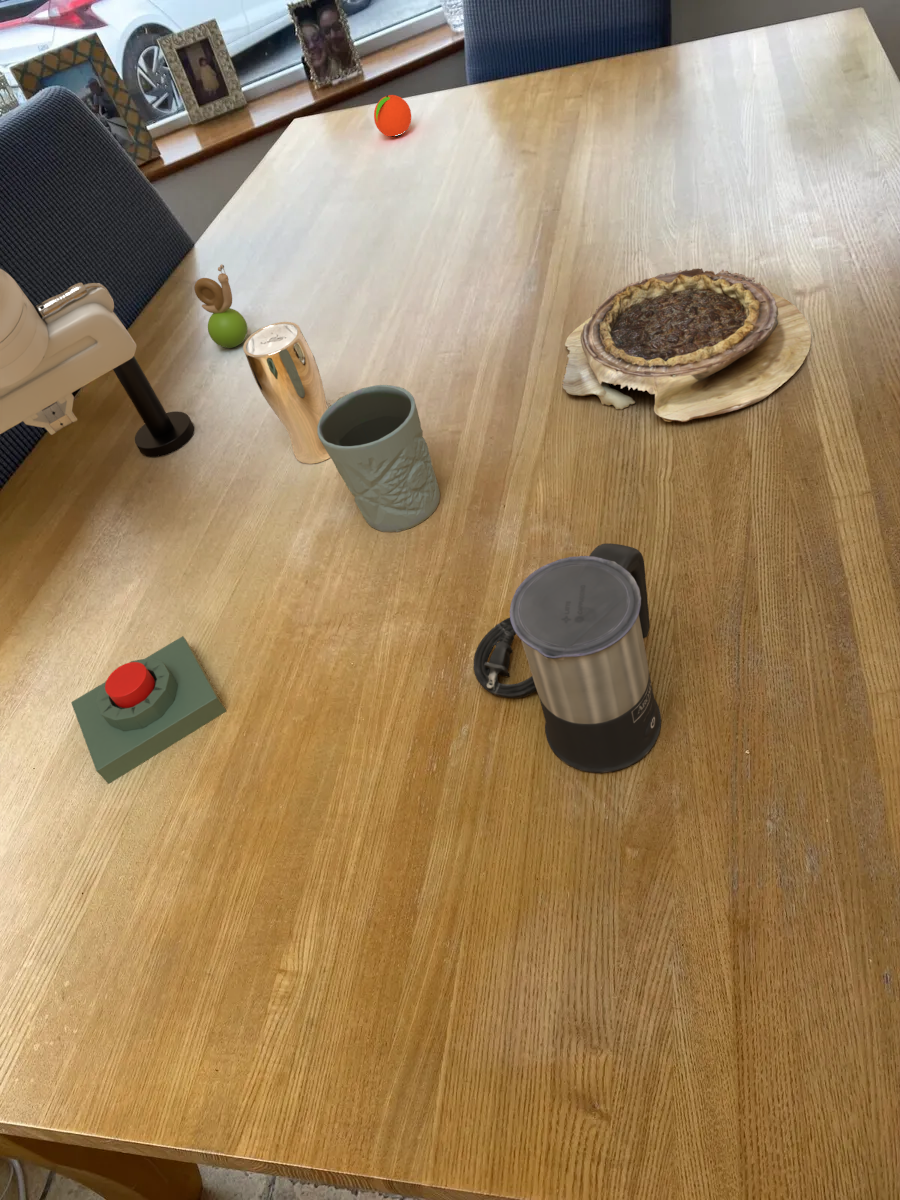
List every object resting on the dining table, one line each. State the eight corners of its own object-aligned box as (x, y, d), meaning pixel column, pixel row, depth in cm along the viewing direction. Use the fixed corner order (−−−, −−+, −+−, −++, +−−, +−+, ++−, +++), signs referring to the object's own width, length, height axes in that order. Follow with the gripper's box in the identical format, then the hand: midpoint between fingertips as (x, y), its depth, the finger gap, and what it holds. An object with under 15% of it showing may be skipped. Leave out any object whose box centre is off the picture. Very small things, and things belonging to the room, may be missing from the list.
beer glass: (316, 424, 115) (270, 317, 105) (358, 435, 112) (314, 324, 101) (280, 459, 112) (228, 352, 102) (321, 471, 108) (272, 361, 98)
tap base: (149, 465, 119) (92, 372, 109) (133, 440, 124) (77, 349, 114) (202, 436, 120) (151, 341, 110) (184, 413, 125) (133, 320, 116)
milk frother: (660, 777, 71) (639, 652, 60) (458, 774, 75) (407, 658, 65) (664, 633, 80) (646, 503, 70) (484, 638, 85) (443, 517, 74)
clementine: (399, 146, 172) (387, 106, 167) (369, 146, 175) (357, 107, 170) (422, 126, 176) (412, 86, 171) (393, 127, 179) (382, 88, 174)
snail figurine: (248, 354, 132) (212, 276, 124) (211, 356, 134) (173, 279, 126) (265, 332, 135) (231, 255, 127) (228, 334, 138) (192, 258, 129)
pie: (576, 299, 120) (570, 263, 117) (805, 271, 111) (805, 232, 108) (547, 438, 102) (539, 400, 99) (817, 417, 94) (818, 375, 90)
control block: (108, 784, 84) (85, 759, 81) (82, 715, 91) (60, 690, 88) (227, 711, 86) (208, 685, 84) (192, 649, 93) (174, 623, 90)
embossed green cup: (452, 521, 97) (421, 427, 88) (359, 549, 97) (319, 459, 89) (437, 463, 104) (407, 372, 95) (350, 490, 105) (313, 402, 96)
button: (120, 715, 84) (110, 704, 83) (109, 689, 87) (99, 677, 86) (160, 691, 85) (151, 680, 84) (148, 666, 88) (139, 654, 87)
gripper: (81, 250, 82) (140, 347, 95) (-136, 370, 78) (-45, 453, 91) (114, 297, 80) (169, 390, 92) (-108, 422, 76) (-18, 500, 89)
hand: (61, 422), depth 92 cm, fingers closed
